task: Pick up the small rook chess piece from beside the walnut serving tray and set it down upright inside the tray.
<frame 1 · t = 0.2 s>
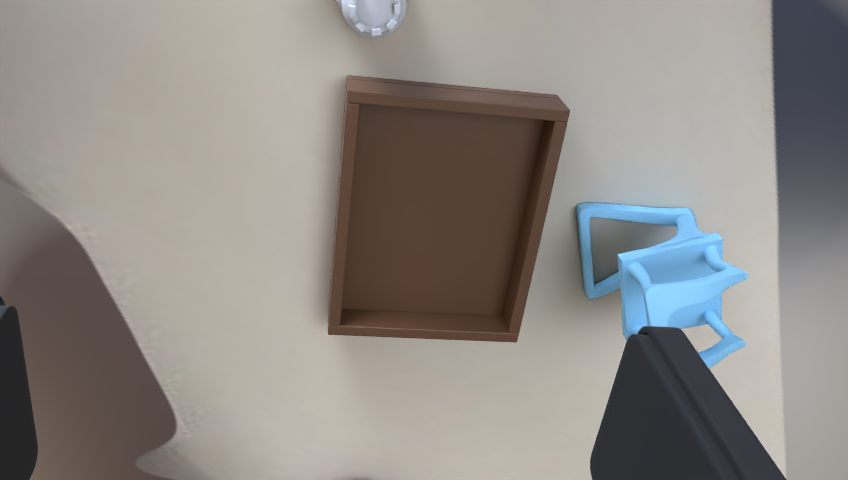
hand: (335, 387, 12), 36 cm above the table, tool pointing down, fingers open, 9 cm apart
chair: (634, 237, 54), on the table
tray: (435, 209, 51), on the table
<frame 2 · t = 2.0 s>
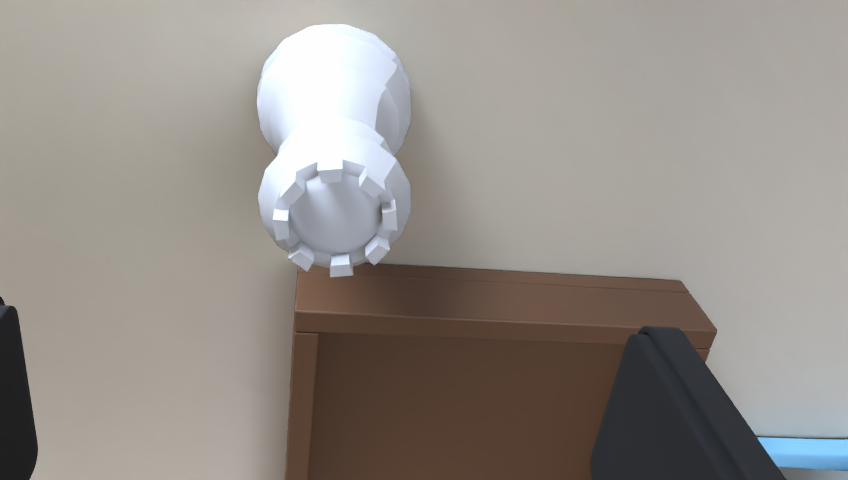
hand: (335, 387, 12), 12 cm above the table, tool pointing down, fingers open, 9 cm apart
rook chess piece: (335, 93, 22), on the table
chair: (782, 477, 33), on the table
tray: (459, 454, 30), on the table
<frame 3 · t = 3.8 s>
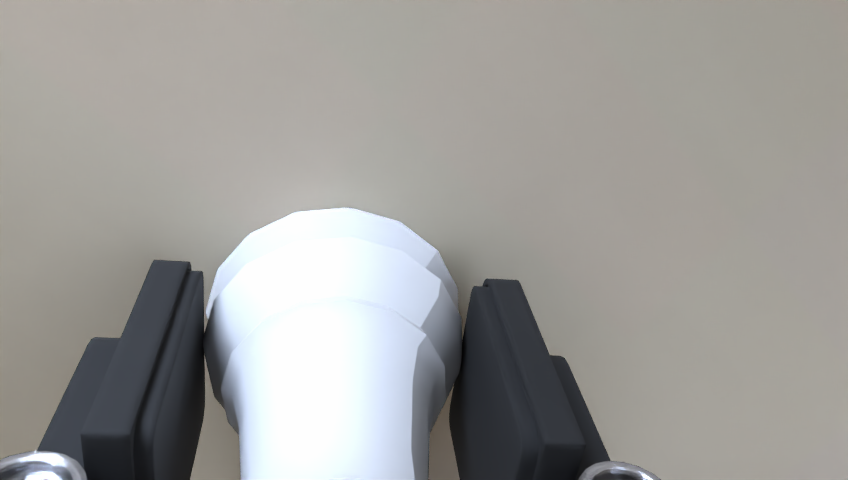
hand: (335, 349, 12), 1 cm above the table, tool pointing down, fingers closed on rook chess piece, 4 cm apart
rook chess piece: (335, 298, 14), on the table, touching gripper
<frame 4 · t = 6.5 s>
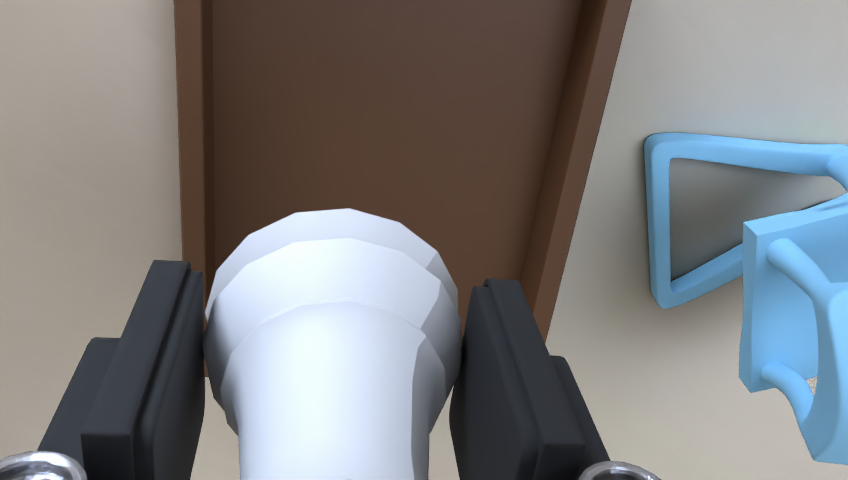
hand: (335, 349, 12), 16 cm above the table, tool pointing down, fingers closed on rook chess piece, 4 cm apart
rook chess piece: (335, 299, 14), point 14 cm above the table, touching gripper
chair: (743, 198, 30), on the table
tray: (384, 143, 27), on the table
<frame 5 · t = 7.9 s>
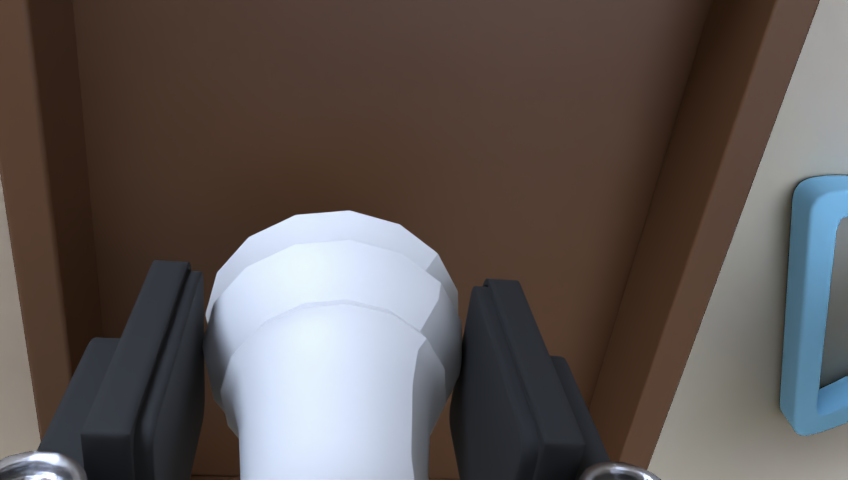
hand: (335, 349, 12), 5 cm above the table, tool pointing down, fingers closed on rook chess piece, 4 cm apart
rook chess piece: (335, 301, 14), point 4 cm above the table, touching gripper
tray: (380, 193, 17), on the table
when the fingers open (2 cm above the table, at t = 9.1 s): rook chess piece stays where it is, resting on tray.
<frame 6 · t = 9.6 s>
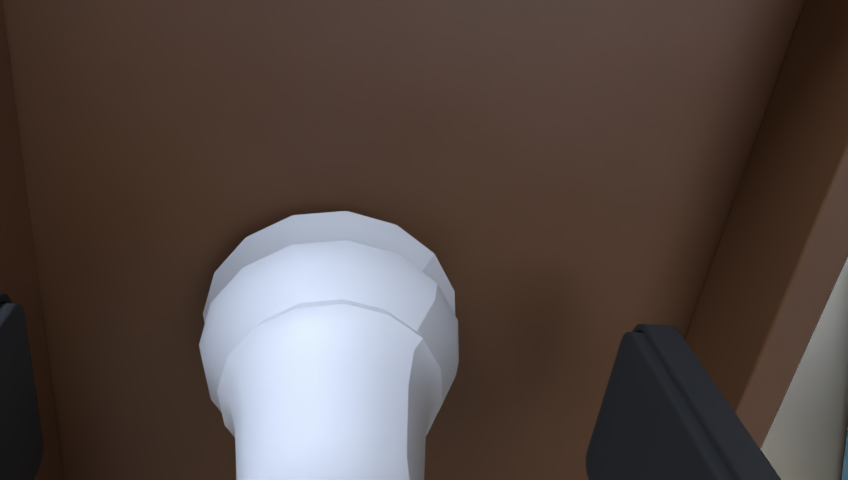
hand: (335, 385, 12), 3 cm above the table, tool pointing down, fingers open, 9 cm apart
rook chess piece: (332, 301, 14), point 1 cm above the table, touching tray
tray: (387, 265, 14), on the table
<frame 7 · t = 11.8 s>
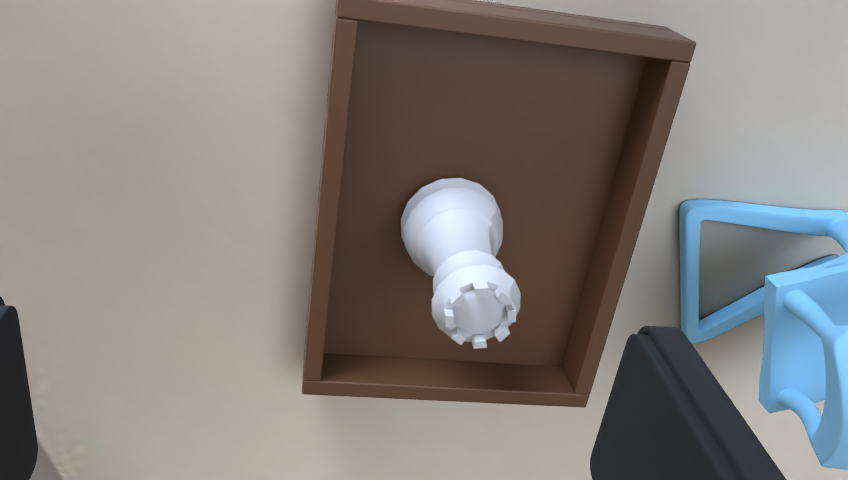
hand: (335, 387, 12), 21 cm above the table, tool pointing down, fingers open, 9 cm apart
rook chess piece: (448, 218, 33), point 1 cm above the table, touching tray
chair: (758, 252, 37), on the table
tray: (470, 204, 34), on the table
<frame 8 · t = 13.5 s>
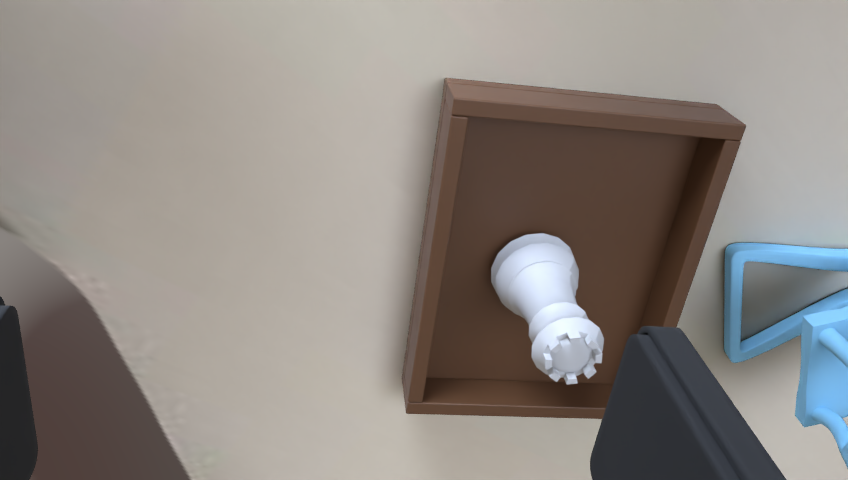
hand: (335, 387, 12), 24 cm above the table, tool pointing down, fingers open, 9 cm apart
rook chess piece: (530, 264, 39), point 1 cm above the table, touching tray
chair: (792, 284, 43), on the table
tray: (547, 251, 40), on the table
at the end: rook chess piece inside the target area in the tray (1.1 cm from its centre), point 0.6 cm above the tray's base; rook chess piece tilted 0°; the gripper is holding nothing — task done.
